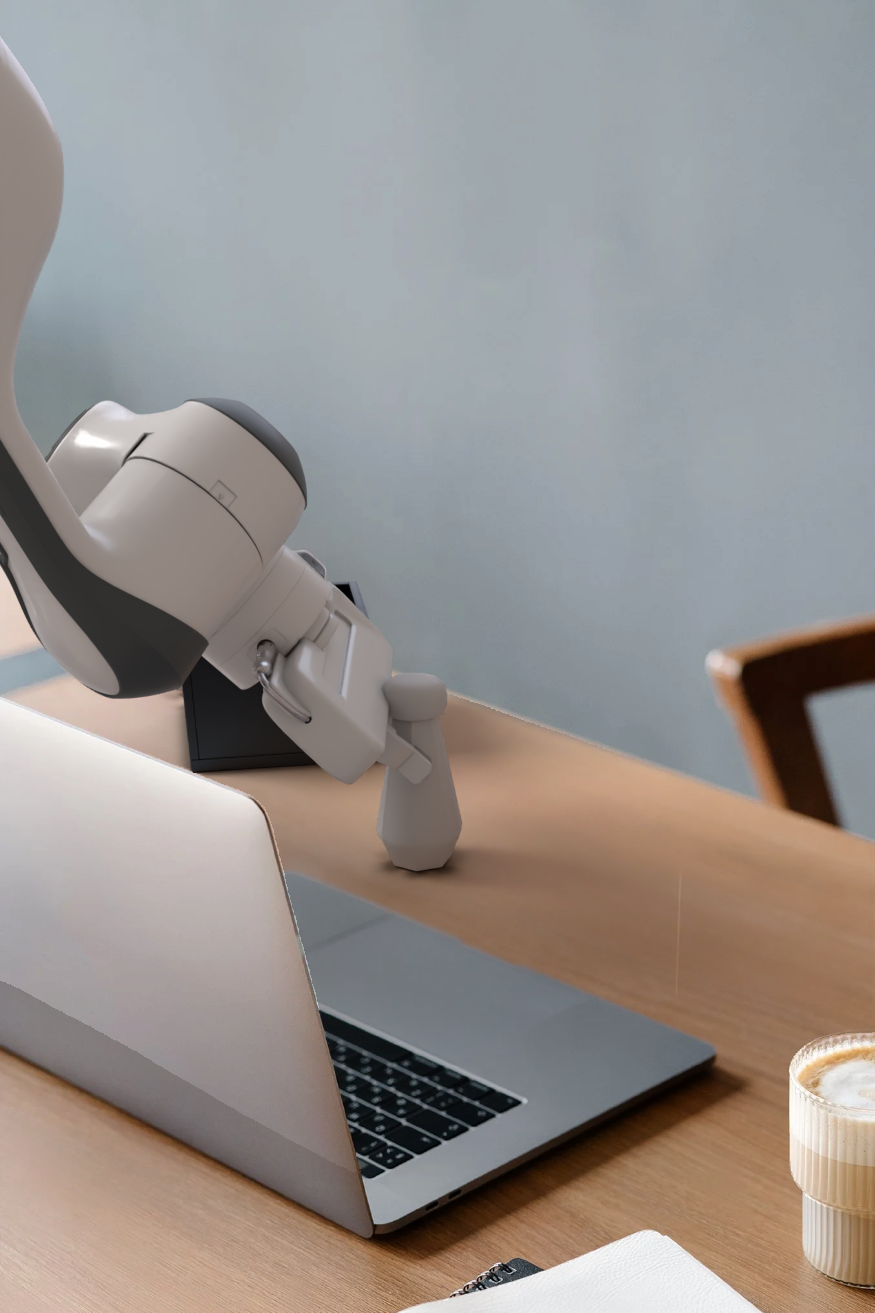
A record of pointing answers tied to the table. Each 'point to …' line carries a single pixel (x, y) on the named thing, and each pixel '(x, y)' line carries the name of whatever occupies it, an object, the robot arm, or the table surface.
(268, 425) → the robot arm
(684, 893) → the table surface
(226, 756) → the waste bin
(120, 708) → the table surface
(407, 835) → the salt shaker
